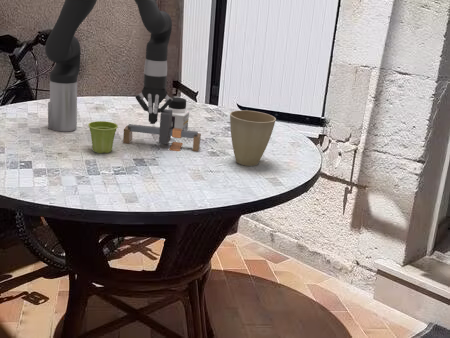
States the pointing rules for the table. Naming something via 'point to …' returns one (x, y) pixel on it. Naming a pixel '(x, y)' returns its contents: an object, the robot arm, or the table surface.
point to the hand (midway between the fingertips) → (152, 123)
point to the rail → (155, 130)
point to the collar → (165, 126)
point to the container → (179, 113)
